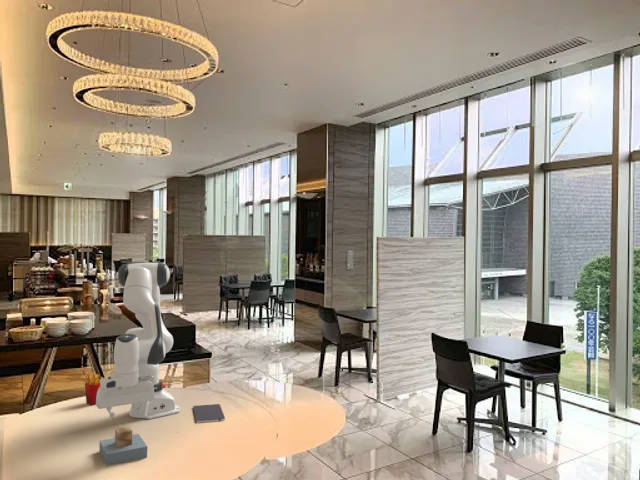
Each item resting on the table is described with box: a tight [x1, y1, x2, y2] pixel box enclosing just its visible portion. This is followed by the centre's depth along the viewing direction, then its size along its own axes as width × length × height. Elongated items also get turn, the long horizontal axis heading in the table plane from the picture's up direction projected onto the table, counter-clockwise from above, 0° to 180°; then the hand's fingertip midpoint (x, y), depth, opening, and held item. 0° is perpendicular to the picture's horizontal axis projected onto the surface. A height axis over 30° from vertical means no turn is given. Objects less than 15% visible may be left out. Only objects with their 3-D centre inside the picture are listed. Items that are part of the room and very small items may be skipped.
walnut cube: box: [114, 426, 133, 447], centre depth 179 cm, size 5×5×5 cm
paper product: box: [192, 403, 226, 424], centre depth 225 cm, size 13×2×21 cm
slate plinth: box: [98, 433, 148, 467], centre depth 179 cm, size 14×14×4 cm
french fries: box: [81, 372, 104, 406], centre depth 235 cm, size 9×8×15 cm
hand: (125, 415), depth 180 cm, fingers open, 8 cm apart
